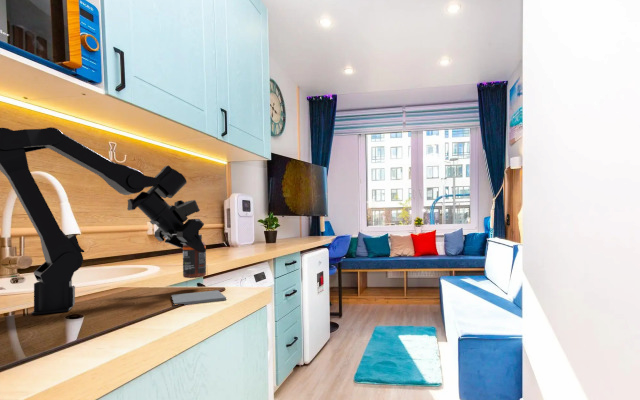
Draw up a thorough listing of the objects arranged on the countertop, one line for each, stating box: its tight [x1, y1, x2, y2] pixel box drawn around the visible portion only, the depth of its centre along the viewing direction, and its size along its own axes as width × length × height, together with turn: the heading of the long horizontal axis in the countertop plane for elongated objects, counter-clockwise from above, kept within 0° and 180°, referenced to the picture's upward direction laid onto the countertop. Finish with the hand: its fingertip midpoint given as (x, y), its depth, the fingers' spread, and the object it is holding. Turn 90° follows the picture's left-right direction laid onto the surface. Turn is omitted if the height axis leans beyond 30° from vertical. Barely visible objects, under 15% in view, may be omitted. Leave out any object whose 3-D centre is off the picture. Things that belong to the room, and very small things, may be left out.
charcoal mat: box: [170, 290, 227, 306], centre depth 91 cm, size 11×11×1 cm
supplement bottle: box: [182, 234, 207, 279], centre depth 106 cm, size 6×6×11 cm
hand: (199, 251), depth 107 cm, fingers closed on supplement bottle, 6 cm apart
